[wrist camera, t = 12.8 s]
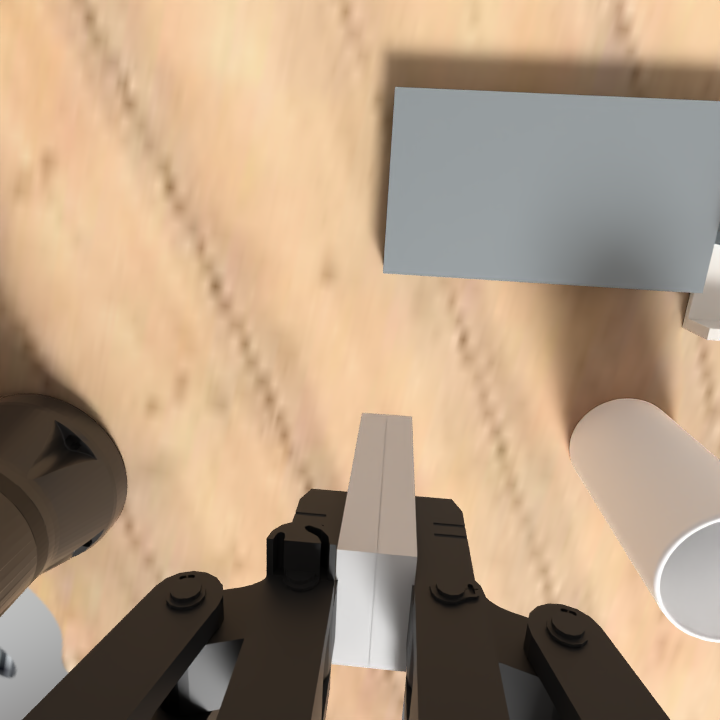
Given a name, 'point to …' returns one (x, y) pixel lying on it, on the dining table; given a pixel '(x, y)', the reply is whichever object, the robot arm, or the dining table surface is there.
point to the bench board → (553, 188)
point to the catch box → (706, 303)
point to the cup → (657, 505)
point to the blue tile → (718, 236)
